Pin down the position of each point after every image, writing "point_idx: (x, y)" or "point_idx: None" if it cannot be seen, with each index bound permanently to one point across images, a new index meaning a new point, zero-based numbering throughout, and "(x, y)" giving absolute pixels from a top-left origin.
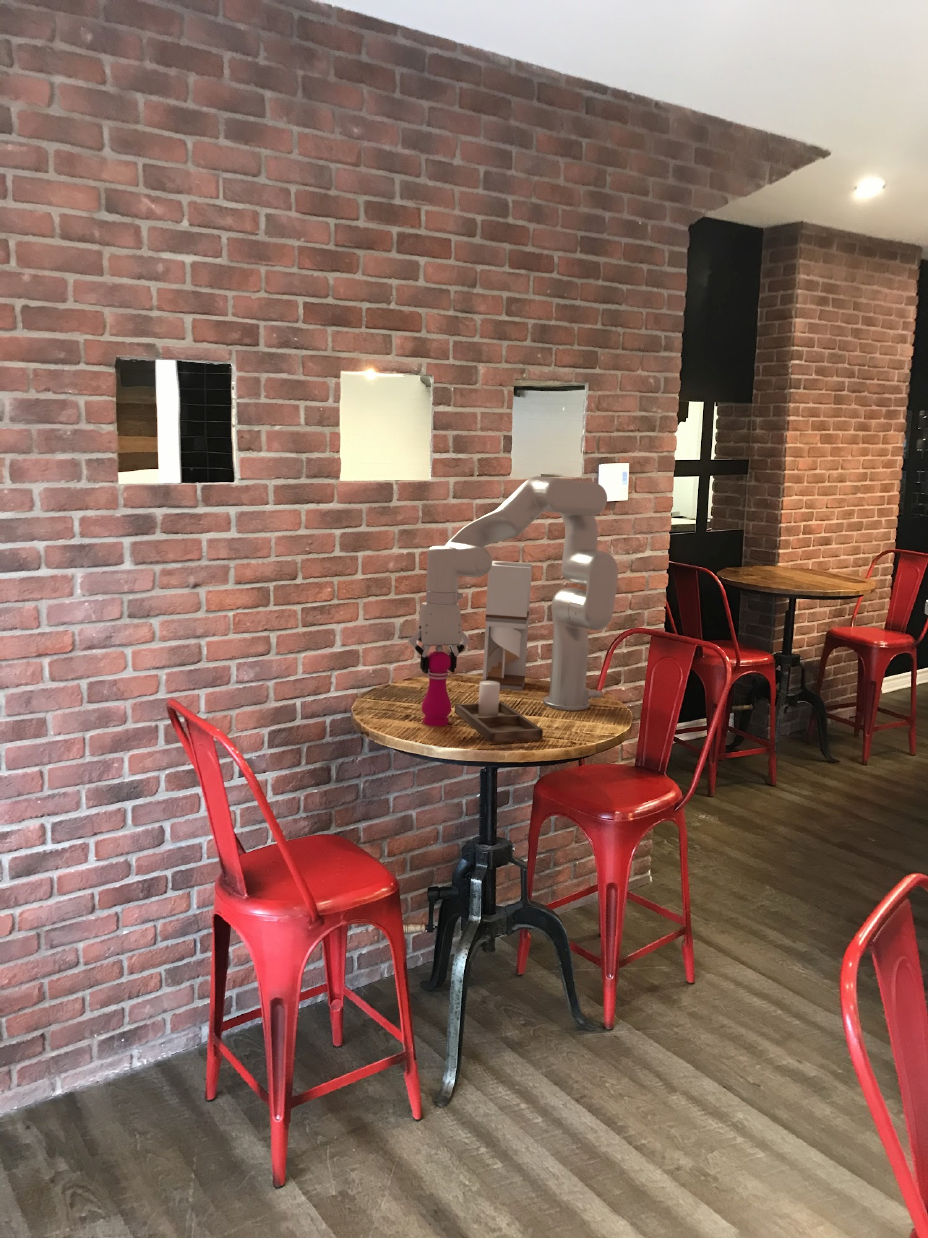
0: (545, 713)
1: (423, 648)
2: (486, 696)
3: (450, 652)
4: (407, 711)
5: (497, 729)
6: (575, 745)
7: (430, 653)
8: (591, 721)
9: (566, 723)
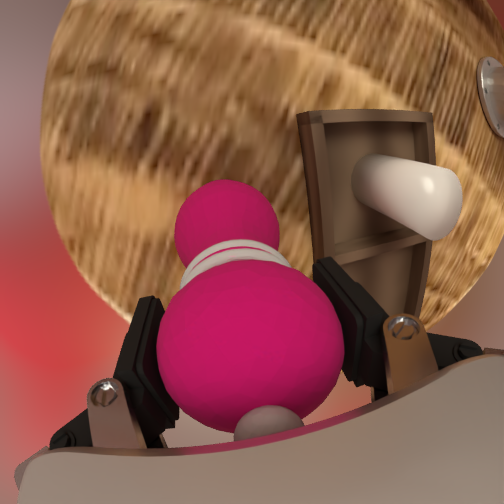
0: (471, 135)
1: (117, 435)
2: (401, 223)
3: (372, 356)
4: (154, 73)
5: (364, 272)
6: (433, 317)
7: (185, 397)
8: (498, 196)
9: (476, 204)
